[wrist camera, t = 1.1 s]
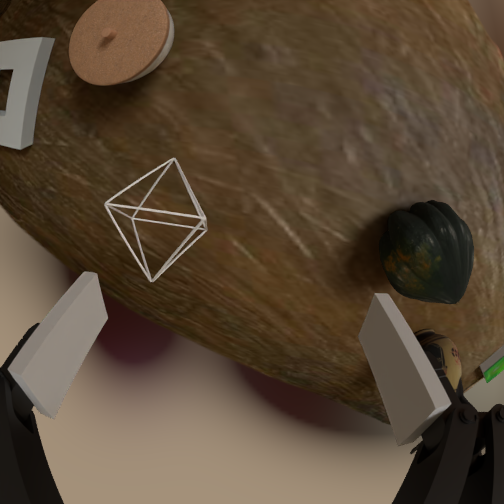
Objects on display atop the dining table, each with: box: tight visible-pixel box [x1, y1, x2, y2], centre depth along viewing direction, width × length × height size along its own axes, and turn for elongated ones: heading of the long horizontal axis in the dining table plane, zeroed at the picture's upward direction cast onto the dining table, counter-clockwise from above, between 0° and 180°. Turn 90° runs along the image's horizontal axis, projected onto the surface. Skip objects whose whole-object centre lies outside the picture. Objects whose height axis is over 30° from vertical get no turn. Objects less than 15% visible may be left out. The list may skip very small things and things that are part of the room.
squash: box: [379, 200, 474, 304], centre depth 33 cm, size 14×15×15 cm
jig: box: [0, 37, 55, 150], centre depth 20 cm, size 16×16×3 cm
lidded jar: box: [69, 0, 174, 86], centre depth 19 cm, size 11×11×9 cm
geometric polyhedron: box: [104, 158, 207, 282], centre depth 31 cm, size 12×11×9 cm
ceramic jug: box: [414, 329, 477, 411], centre depth 43 cm, size 17×15×30 cm
